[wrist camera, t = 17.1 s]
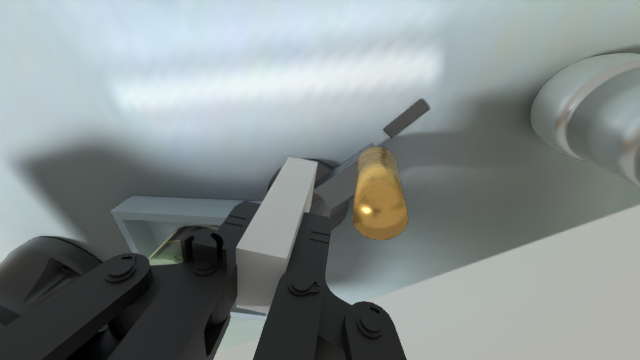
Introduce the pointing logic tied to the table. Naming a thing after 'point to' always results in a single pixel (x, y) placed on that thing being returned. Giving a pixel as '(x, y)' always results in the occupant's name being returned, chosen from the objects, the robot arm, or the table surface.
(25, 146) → the table surface
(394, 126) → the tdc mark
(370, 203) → the crank
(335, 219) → the crank base
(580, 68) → the plastic bottle
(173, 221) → the tray
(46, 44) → the table surface
